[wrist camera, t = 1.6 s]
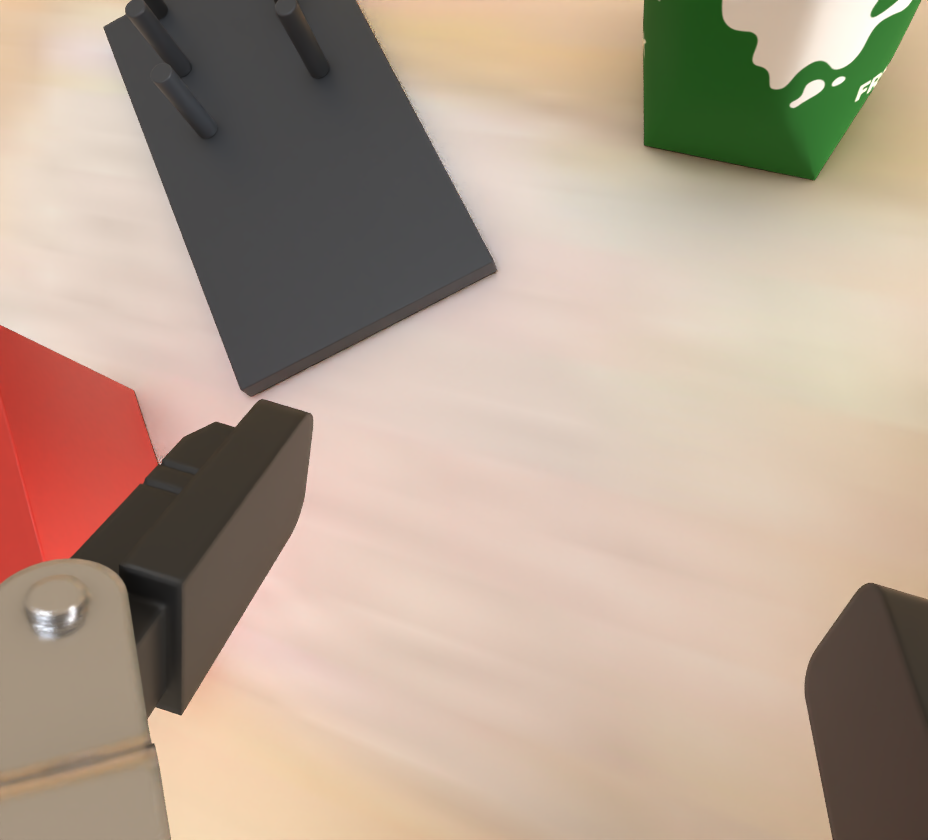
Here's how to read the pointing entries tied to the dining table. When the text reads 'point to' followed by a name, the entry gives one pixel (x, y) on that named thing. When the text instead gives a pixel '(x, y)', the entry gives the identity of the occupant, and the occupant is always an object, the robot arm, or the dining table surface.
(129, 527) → the robot arm
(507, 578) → the dining table surface
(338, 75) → the dish rack
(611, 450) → the dining table surface
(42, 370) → the red rectangular block
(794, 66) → the milk carton
